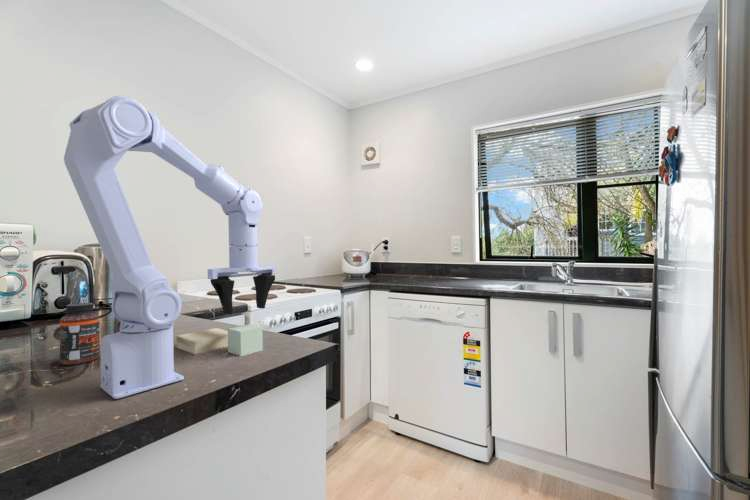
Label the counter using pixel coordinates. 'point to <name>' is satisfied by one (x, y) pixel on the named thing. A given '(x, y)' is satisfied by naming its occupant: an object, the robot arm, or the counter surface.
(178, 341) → the maple slab
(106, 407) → the counter surface
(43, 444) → the counter surface
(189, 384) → the counter surface
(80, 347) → the supplement bottle
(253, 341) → the sage cube
